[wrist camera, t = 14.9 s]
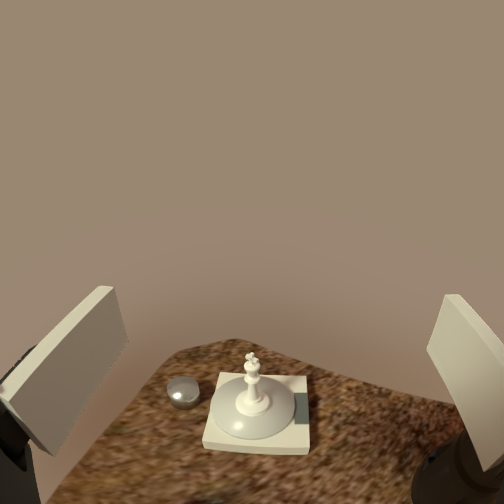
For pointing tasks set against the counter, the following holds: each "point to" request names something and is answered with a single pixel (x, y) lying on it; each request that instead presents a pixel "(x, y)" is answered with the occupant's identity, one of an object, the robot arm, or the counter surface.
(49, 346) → the robot arm
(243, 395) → the chess piece
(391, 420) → the counter surface
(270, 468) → the counter surface
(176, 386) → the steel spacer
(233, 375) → the scale
